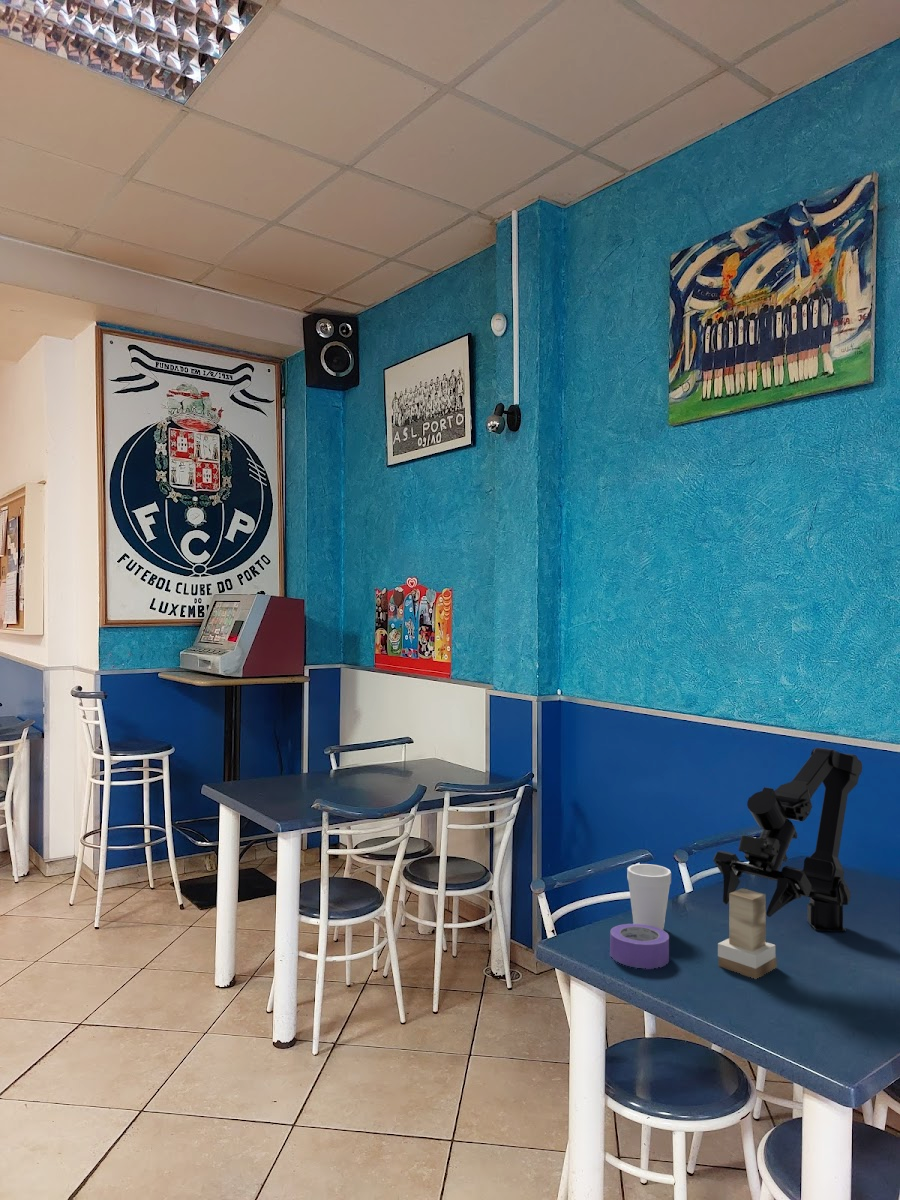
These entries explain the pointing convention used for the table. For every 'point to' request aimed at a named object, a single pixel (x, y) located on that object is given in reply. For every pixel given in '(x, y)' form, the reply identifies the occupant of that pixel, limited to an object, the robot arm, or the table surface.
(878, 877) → the table surface
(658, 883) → the foam cup
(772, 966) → the walnut slab
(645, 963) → the tape roll
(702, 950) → the table surface
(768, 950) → the cream slab
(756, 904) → the beech pillar
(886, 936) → the table surface
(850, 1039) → the table surface
